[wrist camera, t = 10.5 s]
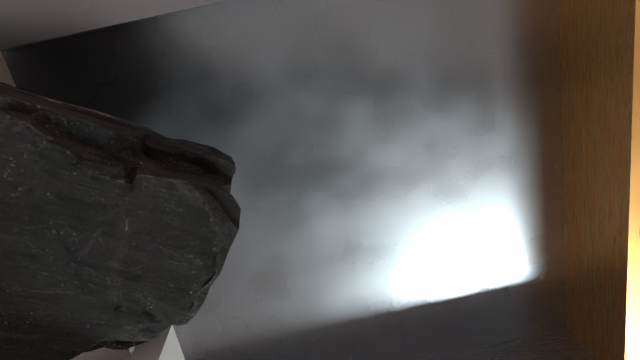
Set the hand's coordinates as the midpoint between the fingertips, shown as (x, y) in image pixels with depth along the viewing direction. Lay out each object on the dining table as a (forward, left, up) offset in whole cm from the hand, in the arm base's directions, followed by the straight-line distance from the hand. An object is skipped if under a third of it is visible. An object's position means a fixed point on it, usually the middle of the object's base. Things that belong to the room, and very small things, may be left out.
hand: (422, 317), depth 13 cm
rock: (-5, +4, -4) cm, 7 cm away
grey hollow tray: (-1, +1, -7) cm, 7 cm away
